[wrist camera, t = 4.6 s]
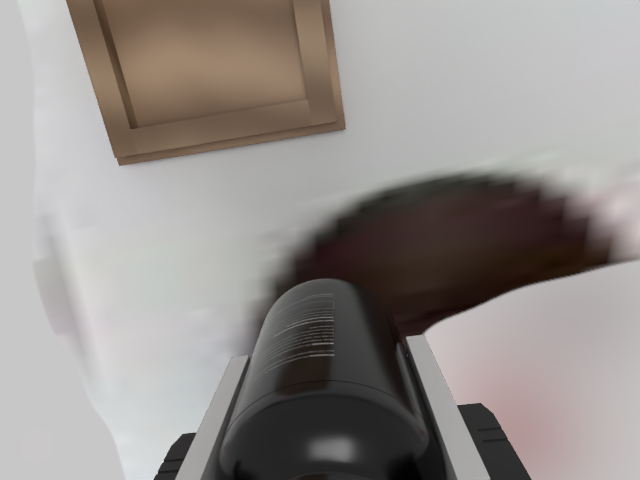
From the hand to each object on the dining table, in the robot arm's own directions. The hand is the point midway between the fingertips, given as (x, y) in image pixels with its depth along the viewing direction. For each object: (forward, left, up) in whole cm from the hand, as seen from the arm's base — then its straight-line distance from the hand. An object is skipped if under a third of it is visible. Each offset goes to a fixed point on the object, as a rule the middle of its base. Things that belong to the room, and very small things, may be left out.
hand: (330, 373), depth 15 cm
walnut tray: (+17, +5, -11) cm, 21 cm away
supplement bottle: (0, 0, -3) cm, 3 cm away
